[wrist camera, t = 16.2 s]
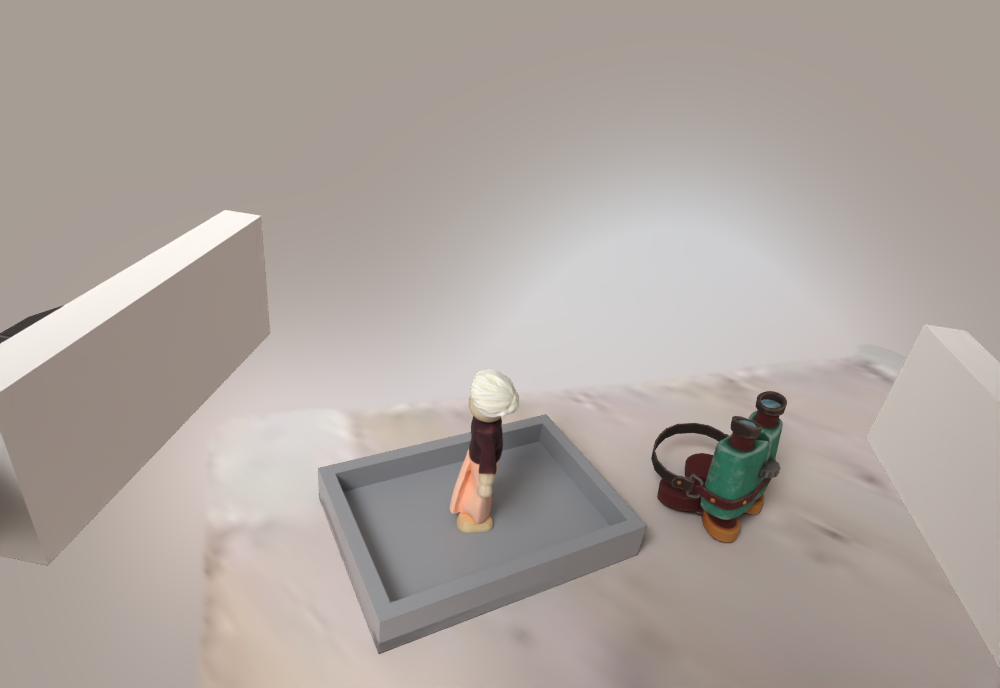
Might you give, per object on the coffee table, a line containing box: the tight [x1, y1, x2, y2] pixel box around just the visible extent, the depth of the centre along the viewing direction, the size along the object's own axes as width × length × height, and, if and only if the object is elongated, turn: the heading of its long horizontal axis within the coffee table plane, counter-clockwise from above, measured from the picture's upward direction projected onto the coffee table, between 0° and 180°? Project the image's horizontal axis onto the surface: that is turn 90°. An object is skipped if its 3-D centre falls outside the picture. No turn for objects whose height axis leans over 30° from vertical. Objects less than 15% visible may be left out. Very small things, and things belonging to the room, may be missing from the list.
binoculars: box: [651, 391, 787, 542], centre depth 51 cm, size 9×11×10 cm
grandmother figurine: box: [450, 369, 519, 533], centre depth 44 cm, size 8×4×13 cm, turn 11°
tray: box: [318, 415, 647, 654], centre depth 47 cm, size 20×14×3 cm
